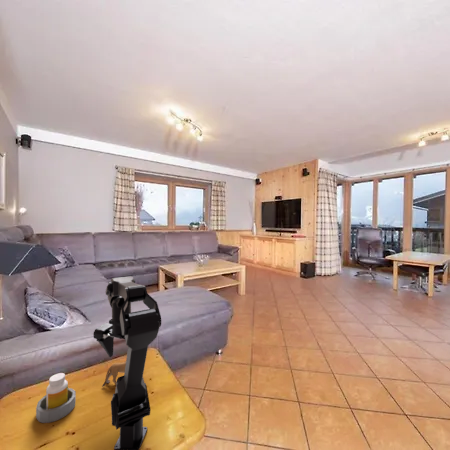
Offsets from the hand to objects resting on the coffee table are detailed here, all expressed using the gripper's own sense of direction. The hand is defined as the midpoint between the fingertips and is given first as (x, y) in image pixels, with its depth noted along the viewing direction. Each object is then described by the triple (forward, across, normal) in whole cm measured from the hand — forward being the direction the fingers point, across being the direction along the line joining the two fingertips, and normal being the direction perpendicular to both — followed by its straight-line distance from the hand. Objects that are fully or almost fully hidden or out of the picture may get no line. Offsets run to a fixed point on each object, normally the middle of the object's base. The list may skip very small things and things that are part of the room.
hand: (122, 359), depth 78 cm
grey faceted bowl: (+12, +14, +12) cm, 22 cm away
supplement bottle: (+12, +14, +12) cm, 22 cm away
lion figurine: (+13, +5, -7) cm, 16 cm away
